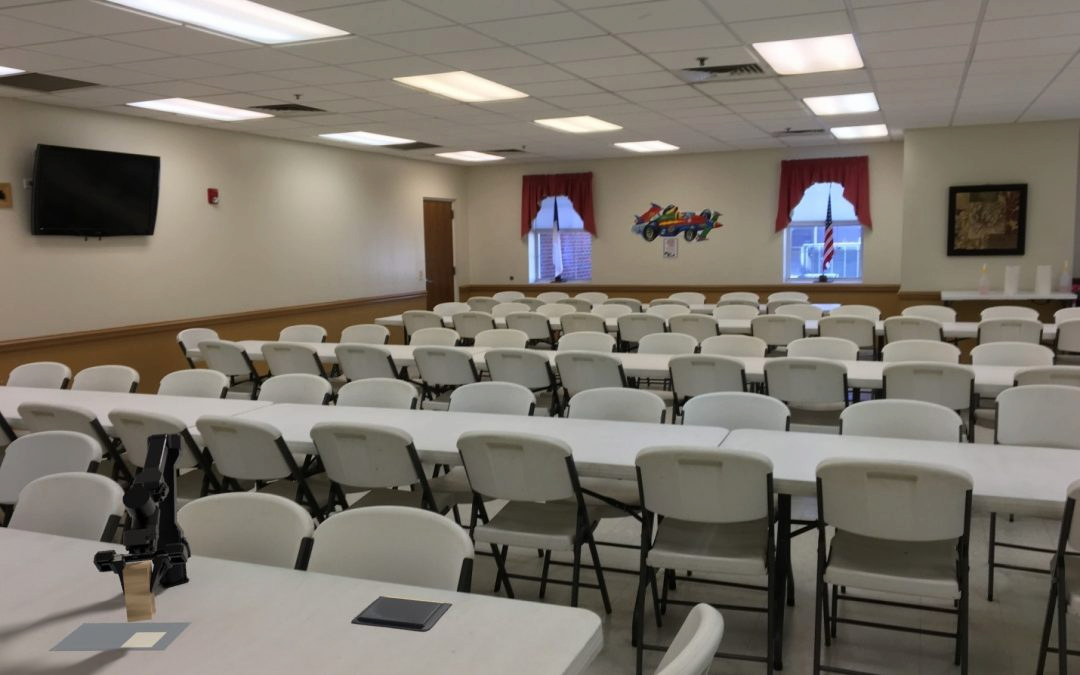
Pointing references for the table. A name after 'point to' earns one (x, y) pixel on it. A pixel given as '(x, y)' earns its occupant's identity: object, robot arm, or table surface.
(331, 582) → the table surface
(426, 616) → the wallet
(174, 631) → the rubber mat
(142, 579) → the wooden block
